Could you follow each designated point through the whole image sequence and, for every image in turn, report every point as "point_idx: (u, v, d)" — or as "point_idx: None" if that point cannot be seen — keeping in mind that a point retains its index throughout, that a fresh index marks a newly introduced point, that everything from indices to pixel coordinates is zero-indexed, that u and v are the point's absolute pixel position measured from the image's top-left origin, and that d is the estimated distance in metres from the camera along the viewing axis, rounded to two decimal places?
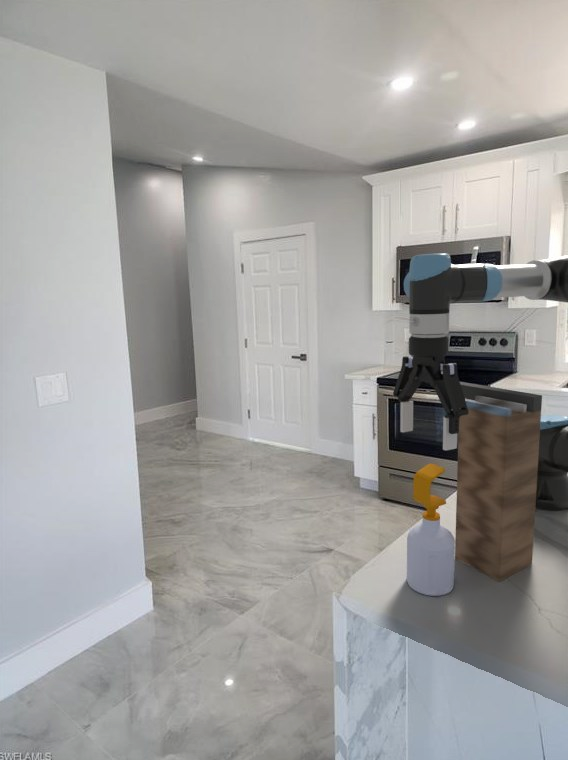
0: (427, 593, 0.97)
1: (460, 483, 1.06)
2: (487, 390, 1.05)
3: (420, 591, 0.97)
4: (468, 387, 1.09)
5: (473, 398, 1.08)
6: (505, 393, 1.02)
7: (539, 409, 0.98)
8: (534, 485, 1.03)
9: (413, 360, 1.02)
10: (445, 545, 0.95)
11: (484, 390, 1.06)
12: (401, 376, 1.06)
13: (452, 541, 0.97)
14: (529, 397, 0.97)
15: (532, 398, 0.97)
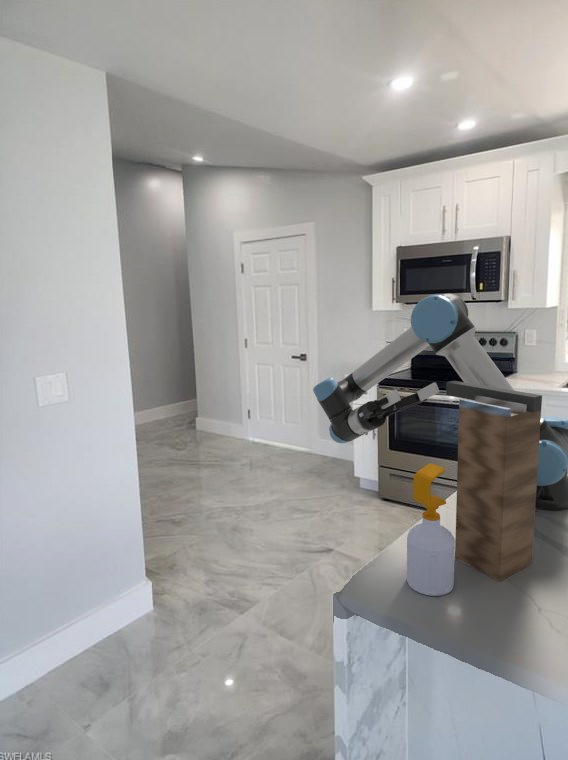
0: (427, 593, 0.97)
1: (460, 483, 1.06)
2: (487, 390, 1.05)
3: (420, 591, 0.97)
4: (468, 387, 1.09)
5: (473, 398, 1.08)
6: (505, 393, 1.02)
7: (539, 409, 0.98)
8: (534, 485, 1.03)
9: None
10: (445, 545, 0.95)
11: (484, 390, 1.06)
12: (408, 407, 1.37)
13: (452, 541, 0.97)
14: (529, 397, 0.97)
15: (532, 398, 0.97)
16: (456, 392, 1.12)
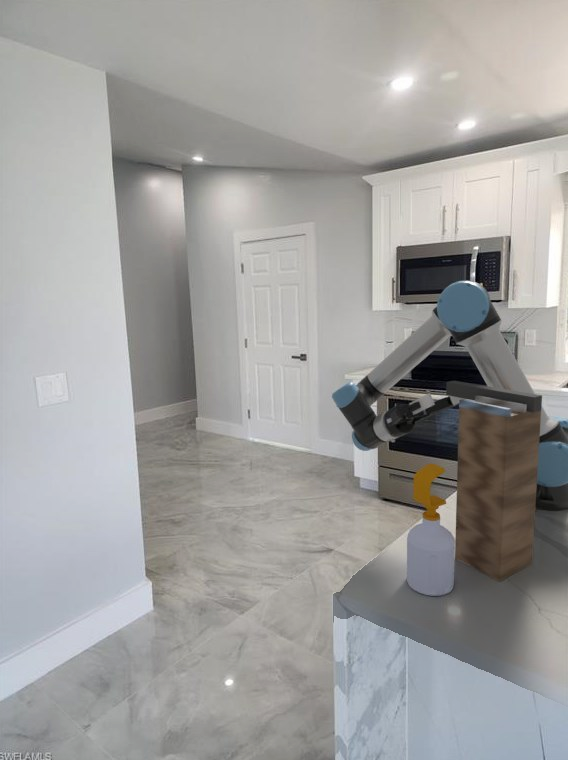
0: (427, 593, 0.97)
1: (460, 483, 1.06)
2: (487, 390, 1.05)
3: (420, 591, 0.97)
4: (468, 387, 1.09)
5: (473, 398, 1.08)
6: (505, 393, 1.02)
7: (539, 409, 0.98)
8: (534, 485, 1.03)
9: None
10: (445, 545, 0.95)
11: (484, 390, 1.06)
12: (439, 411, 1.27)
13: (452, 541, 0.97)
14: (529, 397, 0.97)
15: (532, 398, 0.97)
16: (456, 392, 1.12)
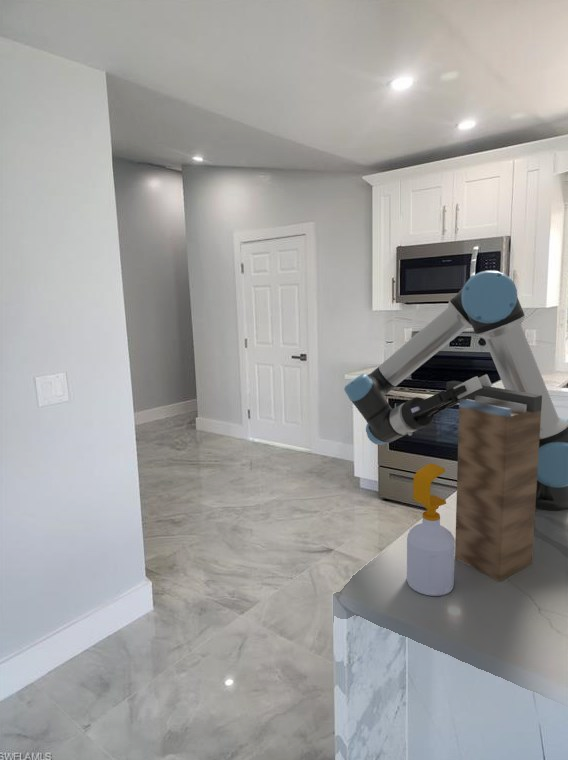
0: (427, 593, 0.97)
1: (460, 483, 1.06)
2: (487, 390, 1.05)
3: (420, 591, 0.97)
4: None
5: (473, 398, 1.08)
6: (505, 393, 1.02)
7: (539, 409, 0.98)
8: (534, 485, 1.03)
9: None
10: (445, 545, 0.95)
11: (484, 390, 1.06)
12: (457, 403, 1.20)
13: (452, 541, 0.97)
14: (529, 397, 0.97)
15: (532, 398, 0.97)
16: None
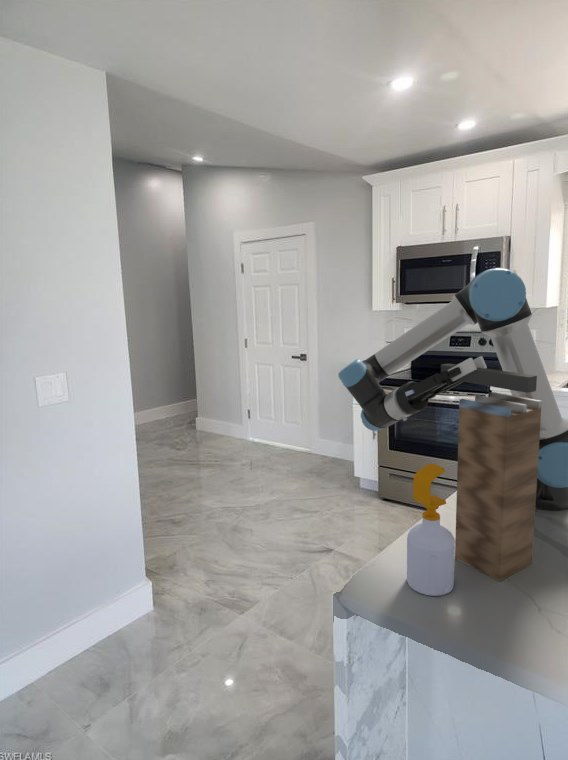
0: (427, 593, 0.97)
1: (460, 483, 1.06)
2: (482, 371, 1.04)
3: (420, 591, 0.97)
4: None
5: (468, 380, 1.07)
6: (500, 374, 1.00)
7: (534, 390, 0.97)
8: (534, 485, 1.03)
9: None
10: (445, 545, 0.95)
11: (479, 372, 1.04)
12: (452, 386, 1.18)
13: (452, 541, 0.97)
14: (524, 377, 0.96)
15: (527, 378, 0.95)
16: None
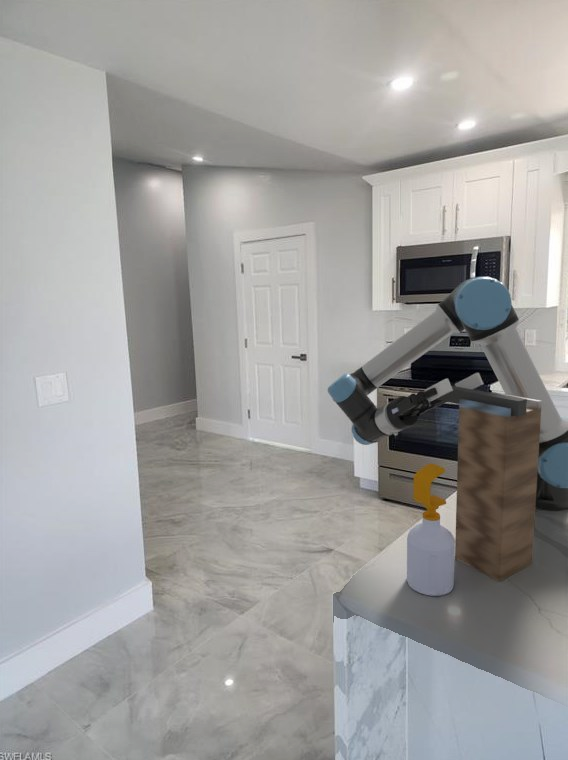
0: (427, 593, 0.97)
1: (460, 483, 1.06)
2: (471, 393, 1.03)
3: (420, 591, 0.97)
4: None
5: (458, 401, 1.06)
6: (489, 397, 0.99)
7: (524, 413, 0.96)
8: (534, 485, 1.03)
9: None
10: (445, 545, 0.95)
11: (468, 393, 1.03)
12: (445, 402, 1.18)
13: (452, 541, 0.97)
14: (513, 401, 0.95)
15: (517, 402, 0.94)
16: None
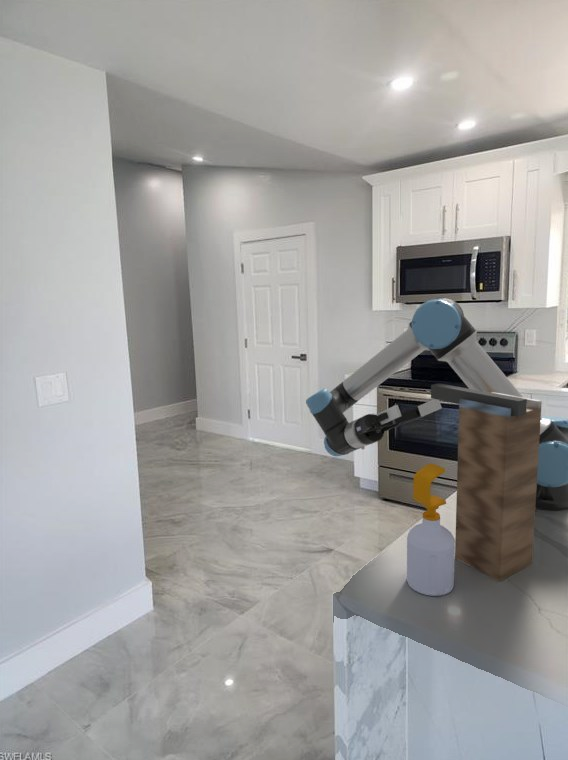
0: (427, 593, 0.97)
1: (460, 483, 1.06)
2: (471, 393, 1.03)
3: (420, 591, 0.97)
4: (452, 390, 1.07)
5: (458, 401, 1.06)
6: (489, 397, 0.99)
7: (524, 413, 0.96)
8: (534, 485, 1.03)
9: None
10: (445, 545, 0.95)
11: (468, 393, 1.03)
12: None
13: (452, 541, 0.97)
14: (513, 401, 0.95)
15: (517, 402, 0.94)
16: (440, 395, 1.10)
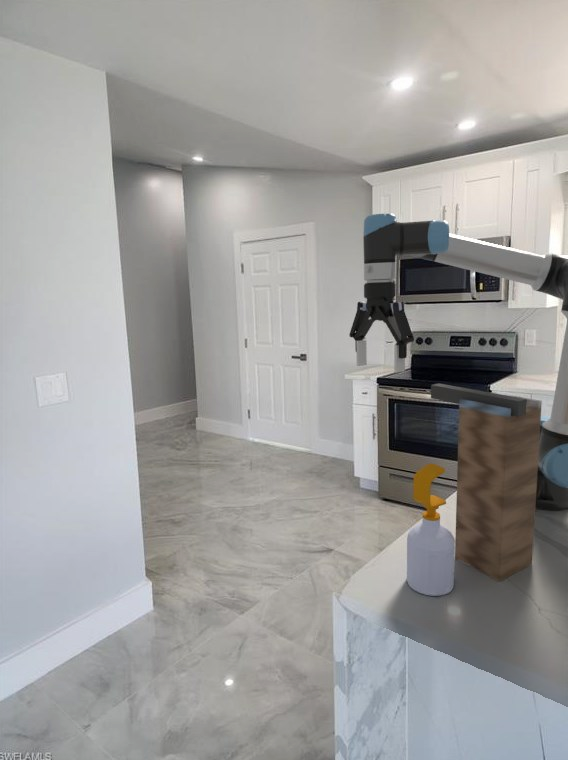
0: (427, 593, 0.97)
1: (460, 483, 1.06)
2: (471, 393, 1.03)
3: (420, 591, 0.97)
4: (452, 390, 1.07)
5: (458, 401, 1.06)
6: (489, 397, 0.99)
7: (524, 413, 0.96)
8: (534, 485, 1.03)
9: (367, 303, 1.24)
10: (445, 545, 0.95)
11: (468, 393, 1.03)
12: (356, 319, 1.28)
13: (452, 541, 0.97)
14: (513, 401, 0.95)
15: (517, 402, 0.94)
16: (440, 395, 1.10)
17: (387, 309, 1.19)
